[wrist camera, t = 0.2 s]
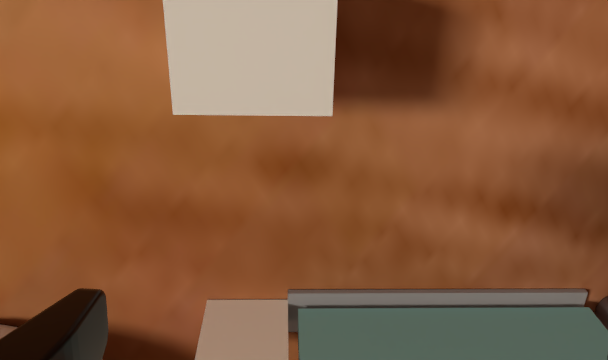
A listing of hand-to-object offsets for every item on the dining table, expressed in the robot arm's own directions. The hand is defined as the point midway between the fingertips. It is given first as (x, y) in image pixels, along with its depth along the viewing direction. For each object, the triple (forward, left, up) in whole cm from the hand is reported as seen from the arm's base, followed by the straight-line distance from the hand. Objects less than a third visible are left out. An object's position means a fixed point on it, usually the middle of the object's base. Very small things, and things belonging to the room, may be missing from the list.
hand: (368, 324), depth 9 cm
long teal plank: (-11, -7, -14) cm, 19 cm away
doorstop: (+3, +2, -14) cm, 15 cm away
